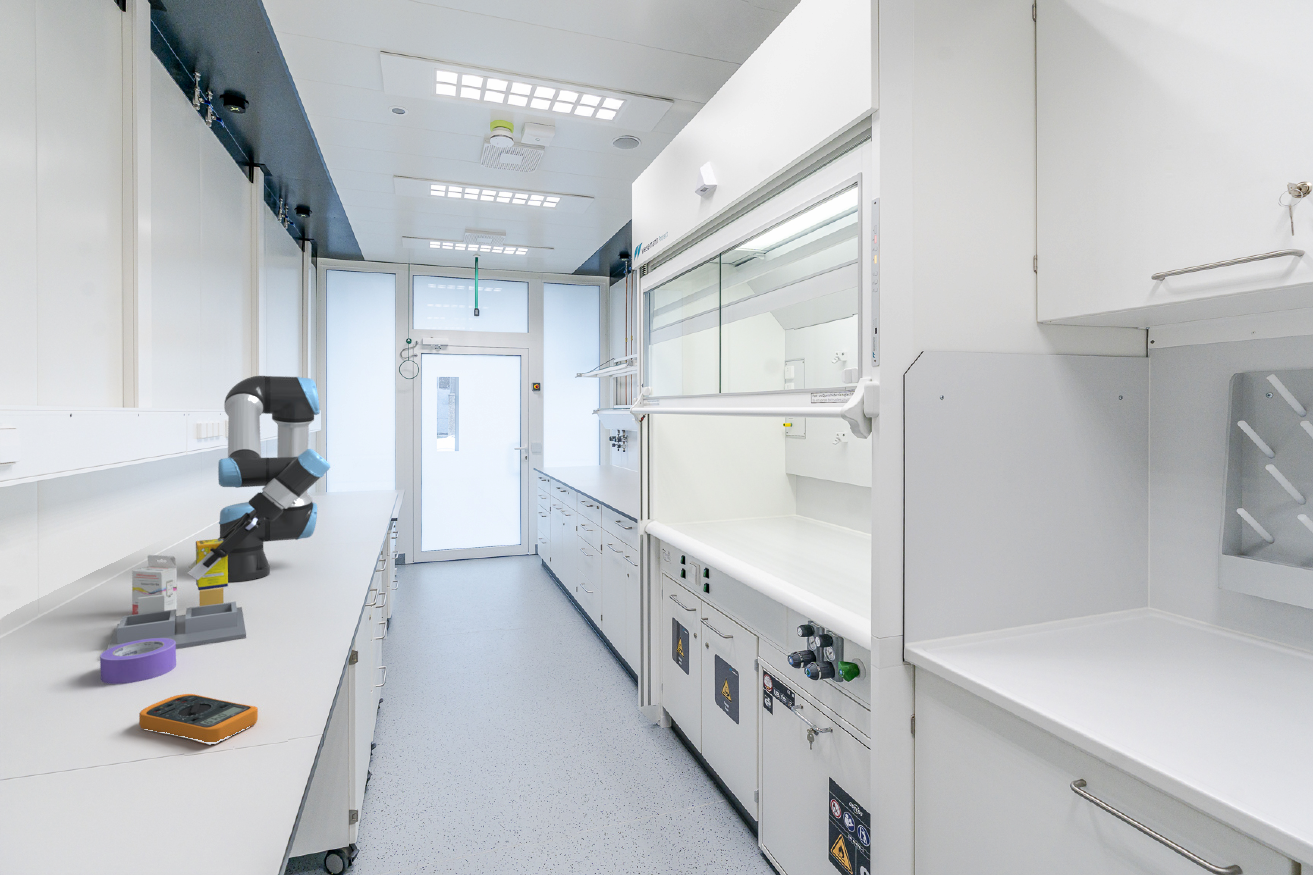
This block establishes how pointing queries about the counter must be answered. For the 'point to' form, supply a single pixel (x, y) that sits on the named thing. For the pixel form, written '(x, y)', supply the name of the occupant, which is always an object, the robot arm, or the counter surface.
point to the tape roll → (138, 660)
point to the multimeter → (198, 717)
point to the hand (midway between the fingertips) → (193, 573)
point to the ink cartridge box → (156, 581)
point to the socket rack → (183, 622)
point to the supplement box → (218, 572)
